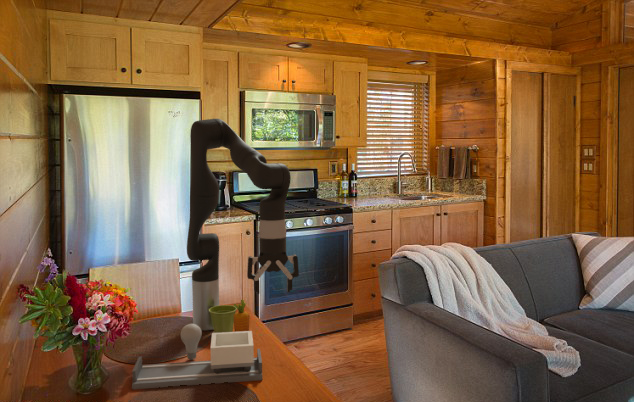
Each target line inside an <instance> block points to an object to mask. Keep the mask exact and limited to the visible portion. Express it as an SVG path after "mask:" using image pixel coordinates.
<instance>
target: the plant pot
mask: <svg viewBox="0 0 634 402" xmlns="http://www.w3.org/2000/svg"><path fill="white" fill-rule="evenodd" d="M237 310H238V309H237V308H236V307H235V306H233V305H231V304H219V305H218V306H214V307H211V308H210V309H209V312H210V314H211V317H212V322H213V328H214V329H213V333H222V332H234V314H235V313H236V311H237Z"/></svg>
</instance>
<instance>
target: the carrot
mask: <svg viewBox="0 0 634 402" xmlns="http://www.w3.org/2000/svg"><path fill="white" fill-rule="evenodd" d="M246 304H247V303H246V302H245V300H244V299H240V303H238V304H235V303H234V304H233V305H232V306H235V307H236V308H237V310H238V311H237V312H235V314H234V323H233V331H234V332H240V331H250V330H249V329H250V313H248V312H247V311H246V310H245V307H246Z"/></svg>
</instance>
